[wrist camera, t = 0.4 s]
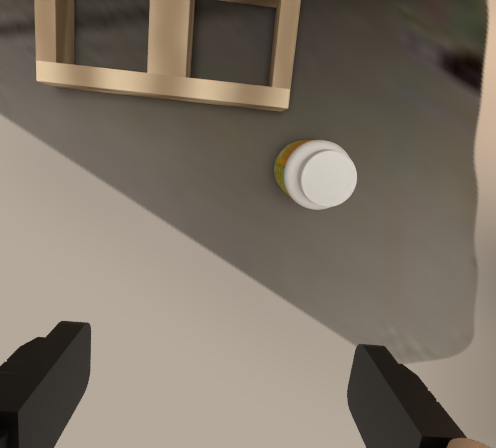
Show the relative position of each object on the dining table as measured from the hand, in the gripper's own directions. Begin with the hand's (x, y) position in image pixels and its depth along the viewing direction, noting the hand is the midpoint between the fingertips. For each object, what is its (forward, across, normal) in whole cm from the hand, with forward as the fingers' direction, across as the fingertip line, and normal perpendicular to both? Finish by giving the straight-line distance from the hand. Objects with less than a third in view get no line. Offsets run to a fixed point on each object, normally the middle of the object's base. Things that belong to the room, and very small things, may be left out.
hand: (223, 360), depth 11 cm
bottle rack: (+25, +6, -14) cm, 29 cm away
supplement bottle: (+25, -7, -4) cm, 26 cm away
